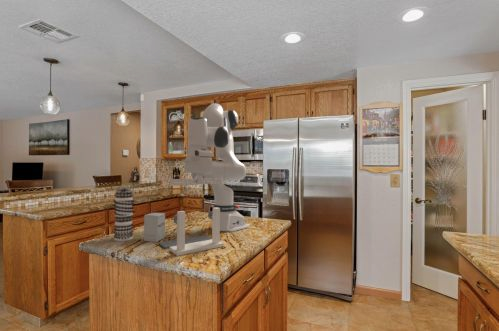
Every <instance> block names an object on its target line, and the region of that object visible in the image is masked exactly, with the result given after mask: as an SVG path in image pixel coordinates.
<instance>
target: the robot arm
mask: <svg viewBox="0 0 499 331" xmlns="http://www.w3.org/2000/svg"><path fill="white" fill-rule="evenodd" d="M238 124H239V115H238V113H237V112H236V110H233V109H228V110H224V108H223V107H222V105H221V104H219V103H215V102H214V103H211V104H210V105H208V106H207V107H206V108H205V109H204V111H203V113H202V116H201V117H200V116H193V117H191V118H189V120H188V128H187V138H188V141H187V142H188V143H187V150H186V151H187V155H186V157H185V159H184V172H185V173H189V174H191V179H197V180H196V183H197V184H198V185H202V184H201V180H202V178H221V184H210V186H212V190H213V196H214V204H213V208H216V207H218V208H220V232H229V233H230V232H231V233H233V232H235V231H240V230H245V229H249V228H250V227H249V224H247V223H246V222H245V221H246V219H245V217H244V215H243V214H241V213H240V212H239V211H237V209H239V208H240V206H239V205H238V204H234V193H235V192H234V190H233V189H232V188H231V187H228V186H227V185H225V184H224V181H226V182H227V181H229V182H234V181H235V182H236V181H243V180H244V179H245V177H246V175H247V168H246V166H245V164H244V163H242V162H241V161H240V160H239V159H238V158H237V156H236V155H235V150H234V148H235V147H234V144H235V142H234V137H233V132H232V131H235V128H236V127H237V126H238ZM210 148H215V155H216V157H217V158H218V159H219V160H220V161H213V159H212V158H213V156H214V153H213V151H212V150H210ZM210 229H211V230H212V226H211V228H210Z"/></svg>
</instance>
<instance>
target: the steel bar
mask: <svg viewBox="0 0 499 331" xmlns="http://www.w3.org/2000/svg"><path fill="white" fill-rule="evenodd" d="M196 180H197V179H192V178H171V179H169V185H170V186H190V185H191V186H194V185H196V186H197V185H199V184H197V183H196ZM211 184H221V178H204V177H202V180H201V184H200V185H211Z"/></svg>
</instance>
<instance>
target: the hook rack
mask: <svg viewBox="0 0 499 331" xmlns="http://www.w3.org/2000/svg"><path fill="white" fill-rule="evenodd" d="M176 212H177V214H175V215H173V223H174V224H176V240H177V246H172V247H170V248H169V251H170V252H172V253H173V254H174V255H175V256H178V257H179V256H183V255H187V254H188V255H189V254H193V253H198V252H203V251H208V250H213V249H217V248H223V247H224V242H222V241H220V240H221V239H220V238H221V237H220V236H221V235H220V234H221V231H220V208H218V207H216V208H214V207H212V211H208V213H207V214H208V219H210V220H212V221H211V222H212V224H211V227H212V229H211V232H212V234H211V235H212V236H211V238H212V239H210V240H205V241H199V242H194V243H188V244H185V238H186V211H185V210H180V211H176Z"/></svg>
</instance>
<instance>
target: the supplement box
mask: <svg viewBox="0 0 499 331" xmlns="http://www.w3.org/2000/svg"><path fill="white" fill-rule="evenodd" d="M143 220H144V221H143V224H144V225H143V241H144V242H152V243H153V242H154V243H158V242H159V241H161V240H163V239H165V238H166V236H165V235H166V233H165V232H166V229H165V228H166V213H165V212H150V213H148V214H144V218H143Z"/></svg>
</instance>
